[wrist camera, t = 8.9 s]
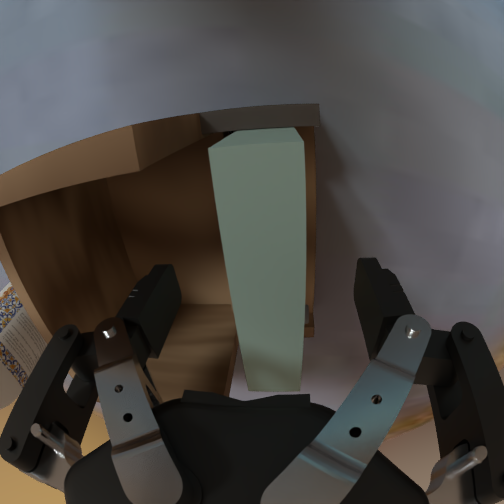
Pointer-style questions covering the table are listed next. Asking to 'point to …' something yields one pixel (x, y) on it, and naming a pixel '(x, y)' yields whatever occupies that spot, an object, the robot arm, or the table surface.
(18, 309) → the bath foam
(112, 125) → the table surface
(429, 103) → the table surface
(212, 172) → the block
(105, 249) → the cabinet
